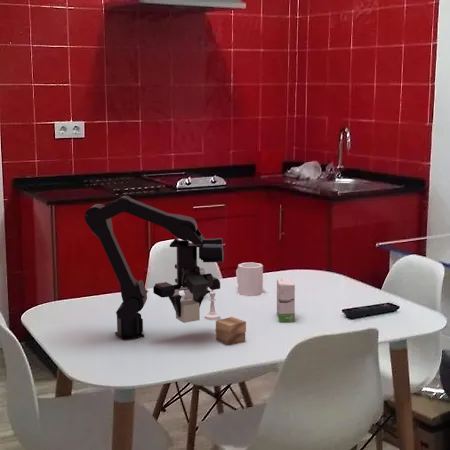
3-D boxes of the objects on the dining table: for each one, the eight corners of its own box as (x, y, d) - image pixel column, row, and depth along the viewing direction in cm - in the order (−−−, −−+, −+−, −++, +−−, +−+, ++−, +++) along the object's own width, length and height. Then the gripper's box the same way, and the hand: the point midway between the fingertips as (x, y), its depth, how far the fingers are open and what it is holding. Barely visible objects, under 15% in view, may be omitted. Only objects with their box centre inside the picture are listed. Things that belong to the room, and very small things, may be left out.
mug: (267, 293, 262) (267, 265, 260) (247, 297, 257) (247, 269, 255) (246, 286, 272) (247, 259, 270) (227, 289, 267) (227, 262, 265)
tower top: (229, 336, 209) (229, 325, 209) (215, 331, 214) (215, 320, 213) (246, 331, 213) (245, 321, 212) (231, 326, 217) (231, 316, 217)
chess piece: (211, 314, 238) (211, 283, 237) (223, 317, 235) (223, 285, 233) (201, 317, 235) (200, 286, 233) (213, 320, 232) (213, 289, 230)
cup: (210, 297, 257) (210, 268, 256) (196, 303, 251) (196, 273, 249) (190, 293, 262) (190, 265, 260) (176, 299, 255) (176, 270, 253)
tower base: (226, 346, 210) (226, 336, 209) (215, 340, 215) (215, 330, 214) (245, 342, 213) (245, 332, 212) (234, 336, 218) (234, 326, 217)
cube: (183, 322, 213) (183, 305, 212) (175, 318, 217) (175, 301, 216) (199, 320, 215) (199, 303, 215) (191, 315, 220) (191, 298, 219)
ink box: (295, 322, 230) (295, 284, 228) (278, 322, 230) (279, 284, 228) (291, 313, 238) (292, 277, 236) (275, 314, 238) (276, 277, 236)
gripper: (169, 272, 202) (170, 328, 205) (230, 263, 211) (230, 317, 214) (152, 263, 211) (153, 317, 214) (210, 256, 221) (210, 308, 223)
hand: (187, 315), depth 216 cm, fingers closed on cube, 5 cm apart
